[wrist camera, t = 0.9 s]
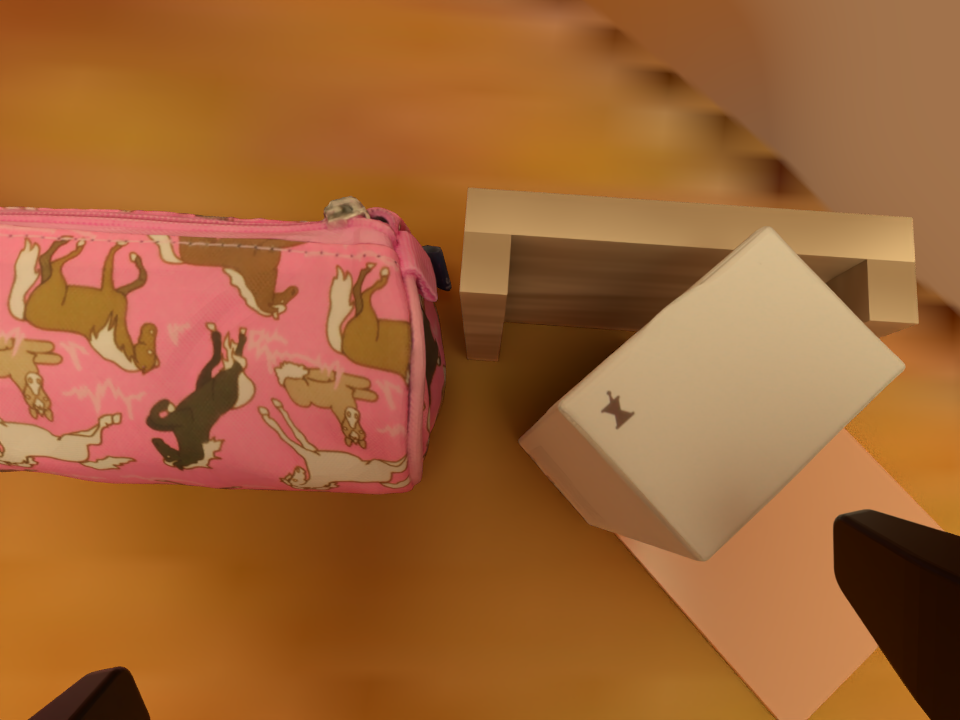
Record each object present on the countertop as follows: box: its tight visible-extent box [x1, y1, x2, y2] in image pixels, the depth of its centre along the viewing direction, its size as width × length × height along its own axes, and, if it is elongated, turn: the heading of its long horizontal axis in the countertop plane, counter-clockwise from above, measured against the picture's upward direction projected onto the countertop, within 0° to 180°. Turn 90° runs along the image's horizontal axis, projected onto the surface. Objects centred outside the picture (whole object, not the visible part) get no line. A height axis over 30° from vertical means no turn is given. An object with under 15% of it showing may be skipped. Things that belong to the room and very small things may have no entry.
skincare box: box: [518, 226, 905, 562], centre depth 18 cm, size 6×4×12 cm
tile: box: [614, 428, 945, 720], centre depth 23 cm, size 9×9×1 cm
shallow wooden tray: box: [459, 188, 919, 361], centre depth 21 cm, size 3×11×9 cm, turn 86°
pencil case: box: [0, 196, 452, 494], centre depth 21 cm, size 21×9×9 cm, turn 88°
